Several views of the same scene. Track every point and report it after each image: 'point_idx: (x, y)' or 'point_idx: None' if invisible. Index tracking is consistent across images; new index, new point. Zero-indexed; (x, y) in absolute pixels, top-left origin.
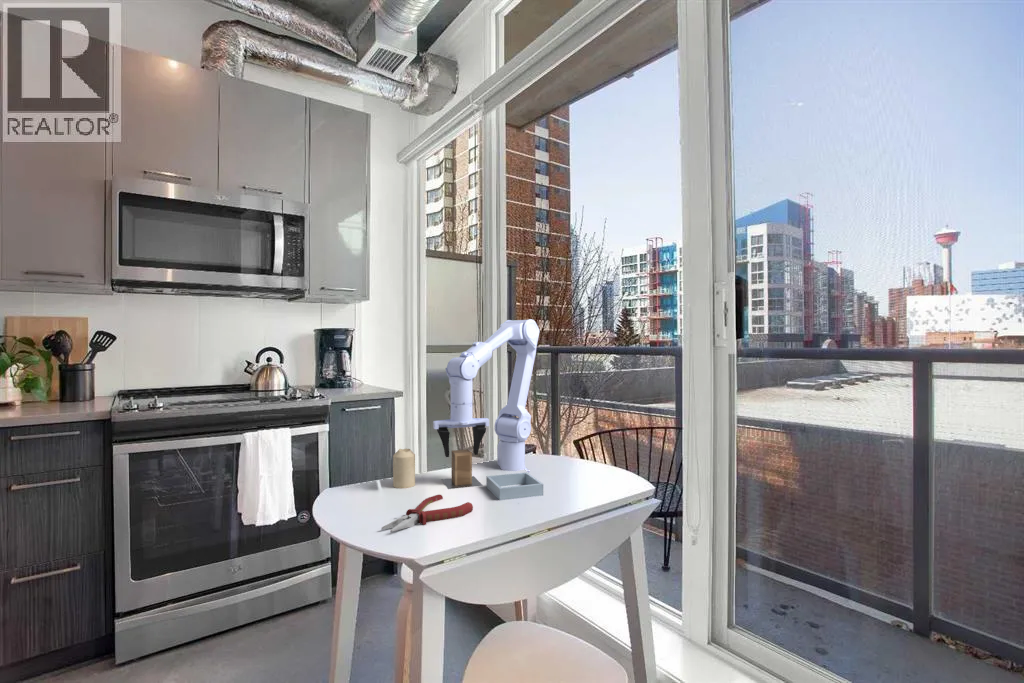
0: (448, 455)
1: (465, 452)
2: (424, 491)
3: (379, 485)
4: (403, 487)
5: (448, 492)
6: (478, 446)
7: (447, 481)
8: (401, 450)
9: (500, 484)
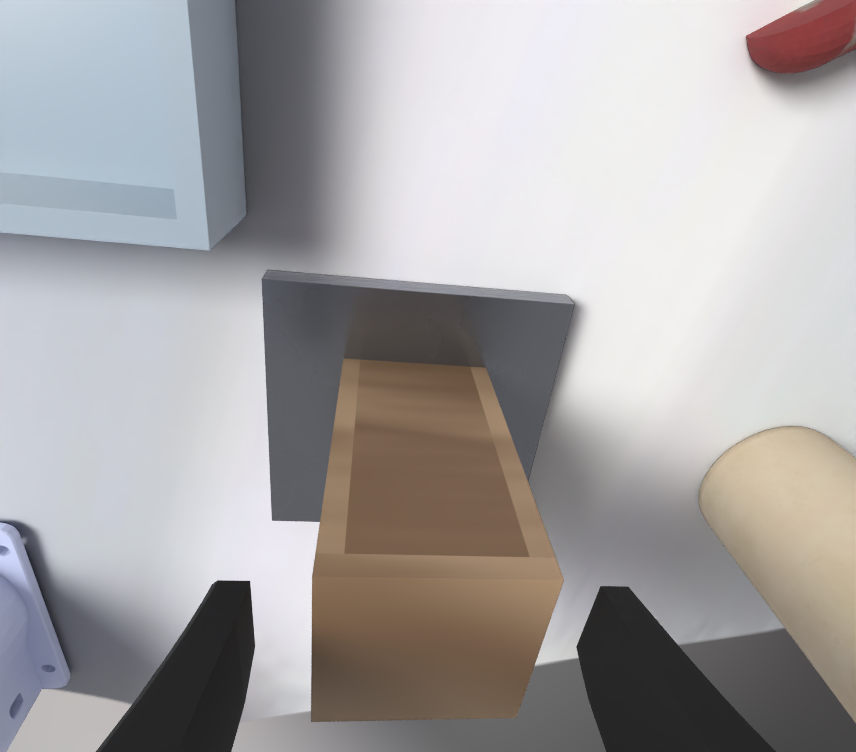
0: (619, 598)
1: (393, 617)
2: (699, 379)
3: None
4: (828, 441)
5: (566, 289)
6: (164, 685)
7: None
8: None
9: (80, 186)
